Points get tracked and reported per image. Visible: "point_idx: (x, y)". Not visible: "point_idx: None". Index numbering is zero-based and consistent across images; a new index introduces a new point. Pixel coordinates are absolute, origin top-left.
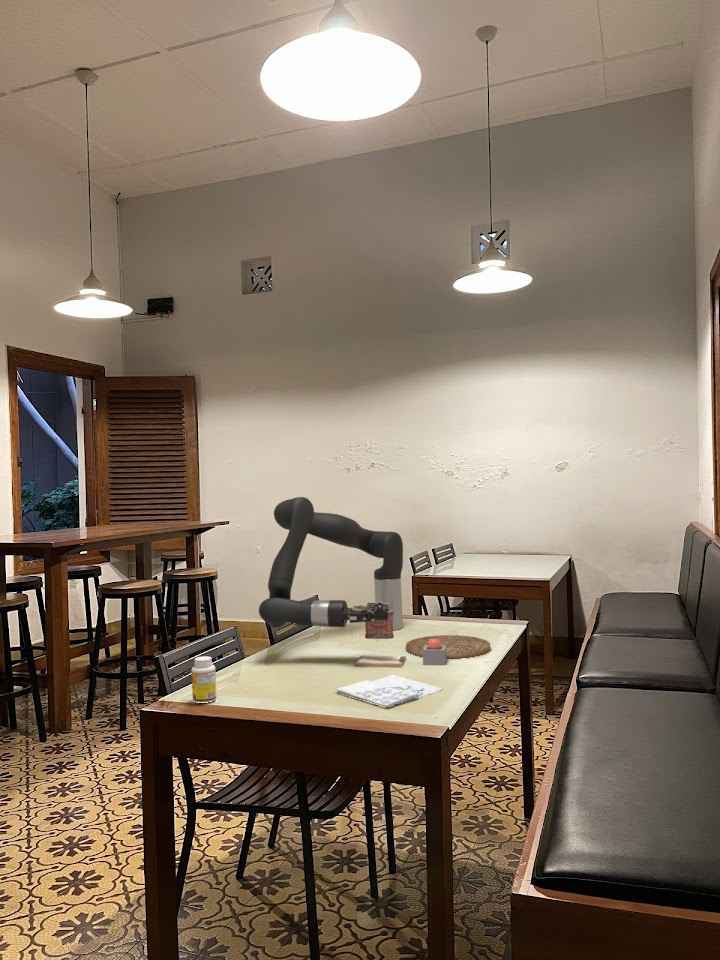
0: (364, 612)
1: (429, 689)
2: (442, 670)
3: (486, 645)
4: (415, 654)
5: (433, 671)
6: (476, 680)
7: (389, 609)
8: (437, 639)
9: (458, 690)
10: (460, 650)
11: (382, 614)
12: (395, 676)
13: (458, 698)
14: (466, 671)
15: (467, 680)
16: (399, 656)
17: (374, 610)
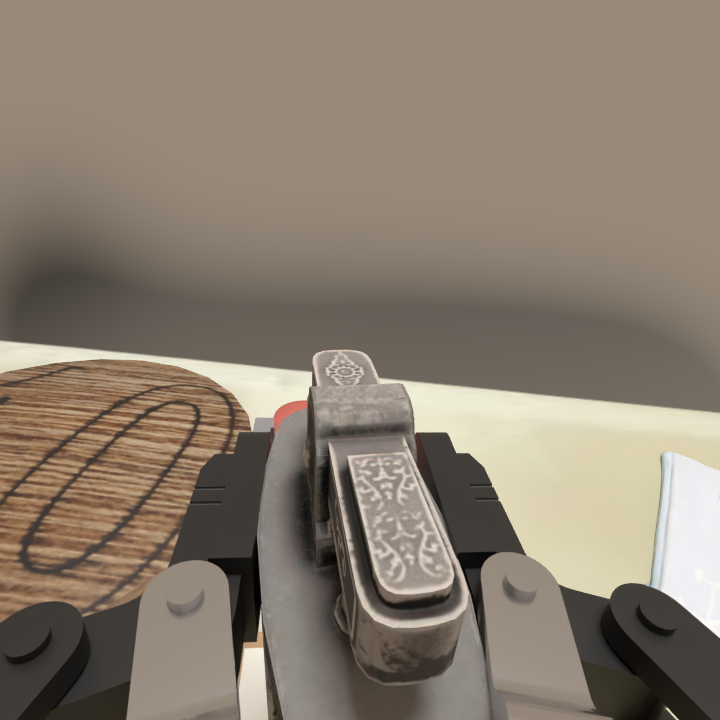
0: (710, 709)
1: (711, 479)
2: None
3: (130, 365)
4: None
5: None
6: (509, 398)
7: (251, 432)
8: (297, 407)
9: (633, 425)
10: (193, 416)
11: (488, 481)
12: None
13: (701, 423)
14: (421, 416)
15: (521, 412)
16: (252, 670)
17: (314, 596)
